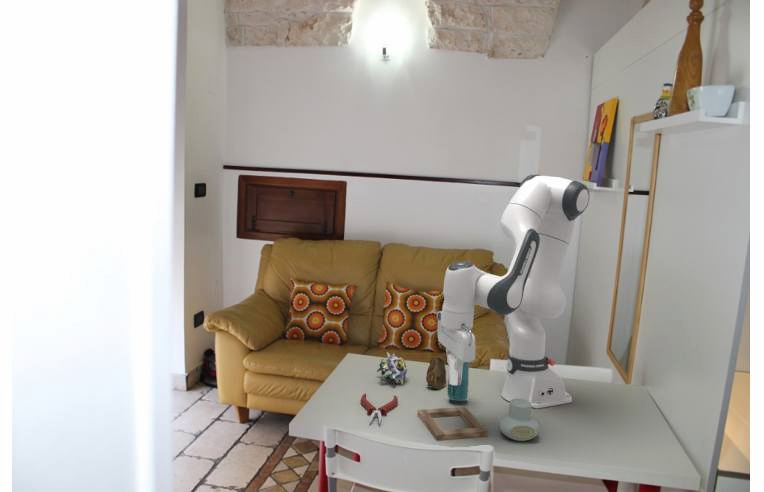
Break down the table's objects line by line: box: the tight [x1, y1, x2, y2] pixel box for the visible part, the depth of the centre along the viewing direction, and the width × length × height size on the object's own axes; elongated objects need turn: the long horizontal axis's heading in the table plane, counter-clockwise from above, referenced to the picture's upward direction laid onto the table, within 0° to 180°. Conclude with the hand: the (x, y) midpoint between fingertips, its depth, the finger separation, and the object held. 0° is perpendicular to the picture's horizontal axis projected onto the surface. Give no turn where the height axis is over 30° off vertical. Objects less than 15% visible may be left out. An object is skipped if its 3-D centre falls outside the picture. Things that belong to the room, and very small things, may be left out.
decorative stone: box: [425, 356, 447, 390], centre depth 207 cm, size 10×9×4 cm
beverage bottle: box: [447, 362, 470, 402], centre depth 193 cm, size 6×7×20 cm
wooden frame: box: [416, 406, 489, 441], centre depth 177 cm, size 15×17×2 cm
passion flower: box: [376, 351, 409, 385], centre depth 211 cm, size 11×11×12 cm
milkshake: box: [445, 350, 463, 385], centre depth 175 cm, size 4×5×10 cm
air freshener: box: [498, 399, 540, 442], centre depth 171 cm, size 11×8×10 cm
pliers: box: [360, 393, 399, 426], centre depth 184 cm, size 12×20×3 cm, turn 176°
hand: (454, 367), depth 175 cm, fingers closed on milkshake, 4 cm apart
